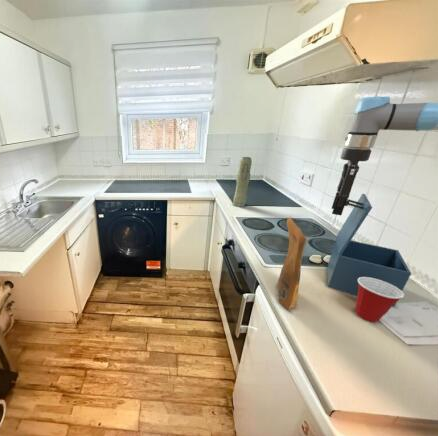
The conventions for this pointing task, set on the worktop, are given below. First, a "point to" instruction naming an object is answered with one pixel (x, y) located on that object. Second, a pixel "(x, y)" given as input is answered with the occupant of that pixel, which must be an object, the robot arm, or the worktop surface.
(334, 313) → the worktop surface
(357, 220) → the lid
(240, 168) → the olive green rough post
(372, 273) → the blue hollow box
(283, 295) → the pancake mix bag
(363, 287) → the plastic cup
